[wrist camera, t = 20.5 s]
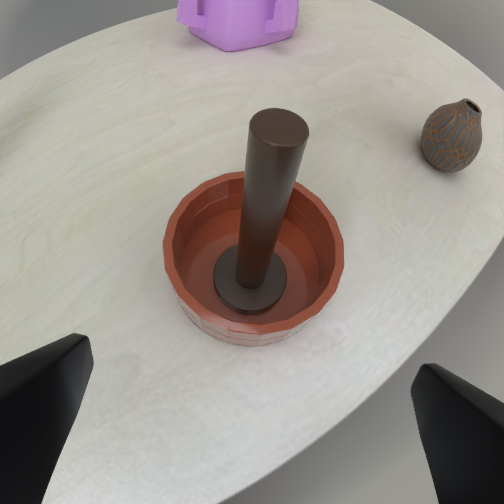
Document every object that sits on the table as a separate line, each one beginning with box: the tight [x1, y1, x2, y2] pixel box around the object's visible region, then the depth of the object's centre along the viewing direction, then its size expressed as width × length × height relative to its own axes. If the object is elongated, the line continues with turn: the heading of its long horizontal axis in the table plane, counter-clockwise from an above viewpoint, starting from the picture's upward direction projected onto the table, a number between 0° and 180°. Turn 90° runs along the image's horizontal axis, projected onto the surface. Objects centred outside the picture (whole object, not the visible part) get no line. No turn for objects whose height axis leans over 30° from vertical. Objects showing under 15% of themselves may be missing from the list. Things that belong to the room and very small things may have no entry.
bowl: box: [163, 171, 344, 346], centre depth 21 cm, size 11×11×4 cm
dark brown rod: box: [213, 108, 309, 314], centre depth 16 cm, size 5×5×14 cm
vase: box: [421, 98, 482, 172], centre depth 27 cm, size 7×7×9 cm
